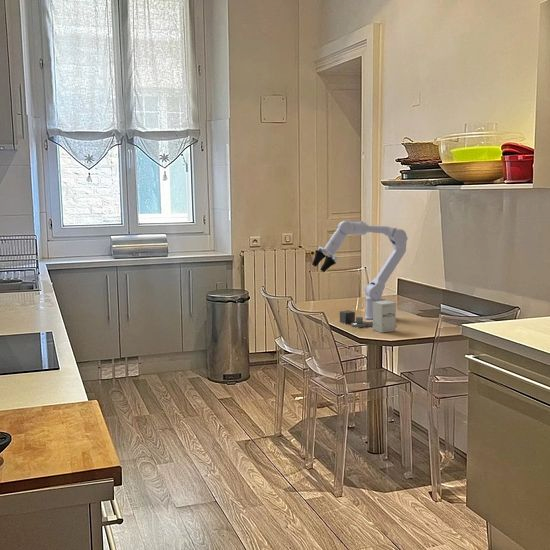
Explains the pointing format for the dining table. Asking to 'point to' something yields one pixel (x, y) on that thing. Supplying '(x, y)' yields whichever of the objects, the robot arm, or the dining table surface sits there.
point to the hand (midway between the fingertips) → (317, 268)
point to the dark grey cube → (347, 316)
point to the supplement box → (384, 316)
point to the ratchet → (361, 323)
